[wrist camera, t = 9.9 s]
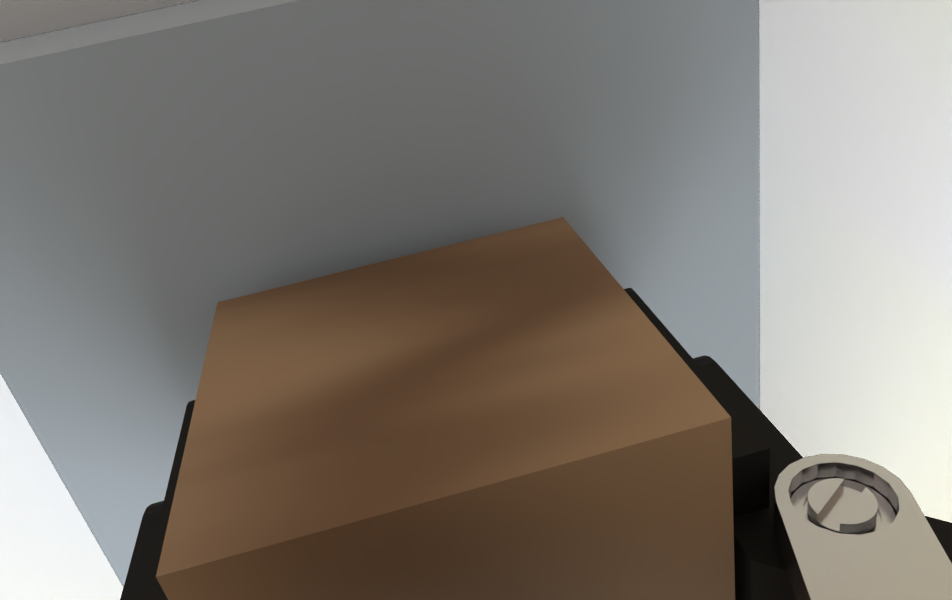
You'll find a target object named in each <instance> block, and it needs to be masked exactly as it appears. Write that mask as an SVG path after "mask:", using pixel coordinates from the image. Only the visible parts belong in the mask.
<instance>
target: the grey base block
mask: <svg viewBox="0 0 952 600" xmlns="http://www.w3.org/2000/svg"><path fill="white" fill-rule="evenodd" d="M561 217H564V219H565V220H566V221H567V222H568V223H569V225H570V226H571V227H572V228H573V229H574V231H575V232H576V233H577V234H578V235H579V237H580V238H581V239H582V240H583V241H584V242H585V244H586V245H587V246H588V247H589V248H590V250H591V251H592V252H593V253H594V254H595V256H596V257H597V258H598V259H599V260H600V262H601V263H602V264H603V265H604V266H605V268H606V269H607V270H608V271H609V272H610V274H611V275H612V276H613V277H614V278H615V279H616V281H617V282H618V283H619V284H620V285H621V287H622V288H623V289H626V288H632V289H633V290H634V291H635V292H636V293H637V294H638V295H639V297H640V298H641V299H642V300H643V301H644V302H645V304H646V305H647V306H648V307H649V308H650V309H651V311H652V312H653V313H654V314H655V315H656V316H657V318H658V319H659V320H660V321H661V322H662V323H663V325H664V326H665V327H666V328H667V329H668V330H669V331H670V333H671V334H672V335H673V336H674V337H675V338H676V340H677V341H678V342H679V343H680V344H681V345H682V347H683V348H684V349H685V350H686V351H687V352H688V354H689V355H690V356H691V357H692V358H696V357H700V356H704V355H705V356H710V357H711V358H712V359H713V360H715V361H716V362H717V363H718V364H719V366H720V367H721V368H722V369H723V370H724V371H725V372H726V373H727V374H728V376H729V377H730V378H731V379H732V380H733V381H734V382H735V383H736V384H737V385H738V387H739V388H740V389H741V390H742V391H743V392H744V393H745V394H746V395H747V396H748V398H749V399H750V400H751V401H752V402H753V403H754V404H755V405H756V406H757V408H758V409H759V410H760V265H759V0H199V1H194V2H189V3H184V4H180V5H175V6H170V7H166V8H161V9H156V10H151V11H147V12H142V13H137V14H133V15H128V16H123V17H118V18H114V19H109V20H104V21H100V22H95V23H90V24H85V25H81V26H76V27H71V28H67V29H62V30H57V31H52V32H48V33H43V34H38V35H34V36H29V37H24V38H19V39H15V40H10V41H5V42H1V43H0V374H1V375H2V377H3V379H4V380H5V382H6V384H7V386H8V387H9V389H10V391H11V393H12V394H13V396H14V398H15V400H16V401H17V403H18V405H19V407H20V408H21V410H22V412H23V414H24V415H25V417H26V419H27V420H28V422H29V424H30V426H31V427H32V429H33V431H34V433H35V434H36V436H37V438H38V440H39V441H40V443H41V445H42V447H43V448H44V450H45V452H46V454H47V455H48V457H49V459H50V460H51V462H52V464H53V466H54V467H55V469H56V471H57V473H58V474H59V476H60V478H61V480H62V481H63V483H64V485H65V487H66V488H67V490H68V492H69V494H70V495H71V497H72V499H73V500H74V502H75V504H76V506H77V507H78V509H79V511H80V513H81V514H82V516H83V518H84V520H85V521H86V523H87V525H88V527H89V528H90V530H91V532H92V534H93V535H94V537H95V539H96V540H97V542H98V544H99V546H100V547H101V549H102V551H103V553H104V554H105V556H106V558H107V560H108V561H109V563H110V565H111V567H112V568H113V570H114V572H115V574H116V575H117V577H118V579H119V580H120V582H121V584H122V586H123V587H124V584H125V580H126V577H127V573H128V569H129V565H130V562H131V558H132V554H133V551H134V547H135V543H136V539H137V536H138V532H139V528H140V524H141V521H142V517H143V514H144V512H145V510H146V508H147V507H148V506H149V505H150V504H153V503H157V502H160V501H164V498H165V494H166V490H167V486H168V482H169V477H170V473H171V469H172V465H173V461H174V456H175V452H176V448H177V444H178V440H179V436H180V431H181V427H182V423H183V419H184V415H185V410H186V406H187V404H188V402H189V401H192V400H196V396H197V391H198V387H199V382H200V378H201V373H202V369H203V364H204V360H205V356H206V351H207V347H208V342H209V338H210V333H211V329H212V324H213V320H214V315H215V311H216V307H217V302H221V301H225V300H229V299H233V298H237V297H241V296H245V295H249V294H253V293H257V292H261V291H265V290H269V289H273V288H277V287H281V286H285V285H290V284H294V283H298V282H302V281H306V280H310V279H314V278H318V277H322V276H326V275H330V274H334V273H338V272H342V271H346V270H350V269H354V268H358V267H362V266H366V265H370V264H374V263H379V262H383V261H387V260H391V259H395V258H399V257H403V256H407V255H411V254H415V253H419V252H423V251H427V250H431V249H435V248H439V247H443V246H447V245H451V244H455V243H459V242H463V241H468V240H472V239H476V238H480V237H484V236H488V235H492V234H496V233H500V232H504V231H508V230H512V229H516V228H520V227H524V226H528V225H532V224H536V223H540V222H544V221H548V220H553V219H557V218H561Z"/></svg>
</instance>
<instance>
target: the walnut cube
mask: <svg viewBox="0 0 952 600" xmlns="http://www.w3.org/2000/svg"><path fill="white" fill-rule="evenodd" d="M156 578H157V580H158V582H159V584H160V586H161V587H162V589H163V591H164V593H165V595H166V597H167V599H168V600H735V569H734V523H733V478H732V432H731V417H730V415H729V414H728V413H727V412H726V411H725V410H724V408H723V407H722V406H721V405H720V404H719V402H718V401H717V400H716V399H715V398H714V396H713V395H712V394H711V393H710V392H709V390H708V389H707V388H706V387H705V386H704V384H703V383H702V382H701V381H700V380H699V378H698V377H697V376H696V375H695V374H694V373H693V371H692V370H691V369H690V368H689V367H688V365H687V364H686V363H685V362H684V361H683V359H682V358H681V357H680V356H679V355H678V353H677V352H676V351H675V350H674V349H673V347H672V346H671V345H670V344H669V343H668V342H667V340H666V339H665V338H664V337H663V336H662V334H661V333H660V332H659V331H658V330H657V328H656V327H655V326H654V325H653V324H652V322H651V321H650V320H649V319H648V318H647V316H646V315H645V314H644V313H643V312H642V310H641V309H640V308H639V307H638V306H637V305H636V303H635V302H634V301H633V300H632V299H631V297H630V296H629V295H628V294H627V293H626V291H625V290H624V289H623V288H622V287H621V285H620V284H619V283H618V282H617V281H616V279H615V278H614V277H613V276H612V275H611V274H610V272H609V271H608V270H607V269H606V268H605V266H604V265H603V264H602V263H601V262H600V260H599V259H598V258H597V257H596V256H595V254H594V253H593V252H592V251H591V250H590V248H589V247H588V246H587V245H586V244H585V242H584V241H583V240H582V239H581V238H580V237H579V235H578V234H577V233H576V232H575V231H574V229H573V228H572V227H571V226H570V225H569V223H568V222H567V221H566V220H565V219H564V217H561V218H557V219H553V220H548V221H544V222H540V223H536V224H532V225H528V226H524V227H520V228H516V229H512V230H508V231H504V232H500V233H496V234H492V235H488V236H484V237H480V238H476V239H472V240H468V241H463V242H459V243H455V244H451V245H447V246H443V247H439V248H435V249H431V250H427V251H423V252H419V253H415V254H411V255H407V256H403V257H399V258H395V259H391V260H387V261H383V262H379V263H374V264H370V265H366V266H362V267H358V268H354V269H350V270H346V271H342V272H338V273H334V274H330V275H326V276H322V277H318V278H314V279H310V280H306V281H302V282H298V283H294V284H290V285H285V286H281V287H277V288H273V289H269V290H265V291H261V292H257V293H253V294H249V295H245V296H241V297H237V298H233V299H229V300H225V301H221V302H217V307H216V311H215V315H214V320H213V324H212V329H211V333H210V338H209V342H208V347H207V351H206V356H205V360H204V364H203V369H202V373H201V378H200V382H199V387H198V391H197V396H196V400H195V405H194V409H193V413H192V418H191V422H190V427H189V431H188V436H187V440H186V445H185V449H184V454H183V458H182V463H181V467H180V471H179V476H178V480H177V485H176V489H175V494H174V498H173V503H172V507H171V512H170V516H169V520H168V525H167V529H166V534H165V538H164V543H163V547H162V552H161V556H160V561H159V565H158V569H157V574H156Z"/></svg>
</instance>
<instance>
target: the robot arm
mask: <svg viewBox="0 0 952 600" xmlns="http://www.w3.org/2000/svg"><path fill="white" fill-rule="evenodd" d="M624 290H625V291H626V293H627V294H628V295H629V296H630V297H631V299H632V300H633V301H634V302H635V303H636V305H637V306H638V307H639V308H640V309H641V310H642V312H643V313H644V314H645V315H646V316H647V318H648V319H649V320H650V321H651V322H652V324H653V325H654V326H655V327H656V328H657V330H658V331H659V332H660V333H661V334H662V336H663V337H664V338H665V339H666V340H667V342H668V343H669V344H670V345H671V346H672V347H673V349H674V350H675V351H676V352H677V353H678V355H679V356H680V357H681V358H682V359H683V361H684V362H685V363H686V364H687V365H688V367H689V368H690V369H691V370H692V371H693V373H694V374H695V375H696V376H697V377H698V378H699V380H700V381H701V382H702V383H703V384H704V386H705V387H706V388H707V389H708V390H709V392H710V393H711V394H712V395H713V396H714V398H715V399H716V400H717V401H718V402H719V404H720V405H721V406H722V407H723V408H724V410H725V411H726V412H727V413H728V414H729V415H730V417H731V432H732V478H733V523H734V569H735V600H952V523H950V522H946V521H942V520H938V519H934V518H931V517H927V516H924V514H923V513H922V511H921V509H920V507H919V506H918V504H917V502H916V500H915V499H914V497H913V495H912V493H911V492H910V490H909V489H908V488H907V487H906V486H905V484H904V483H903V482H902V481H901V479H900V478H898V477H897V476H896V475H894V474H893V473H891V472H890V471H888V470H887V469H886V468H884V467H882V466H880V465H878V464H875V463H873V462H870V461H868V460H866V459H862V458H858V457H853V456H848V455H844V454H820V455H815V456H809V457H804V458H803V457H802V456H801V455H800V454H799V453H798V452H797V451H796V449H795V448H794V447H793V446H792V445H791V444H790V443H789V442H788V441H787V440H786V438H785V437H784V436H783V435H782V434H781V433H780V432H779V431H778V430H777V429H776V427H775V426H774V425H773V424H772V423H771V422H770V421H769V420H768V419H767V417H766V416H765V415H764V414H763V413H762V412H761V411H760V410H759V409H758V408H757V406H756V405H755V404H754V403H753V402H752V401H751V400H750V399H749V398H748V396H747V395H746V394H745V393H744V392H743V391H742V390H741V389H740V388H739V387H738V385H737V384H736V383H735V382H734V381H733V380H732V379H731V378H730V377H729V376H728V374H727V373H726V372H725V371H724V370H723V369H722V368H721V367H720V366H719V364H718V363H717V362H716V361H715V360H713V359H712V358H711V357H710V356H705V355H704V356H700V357H696V358H692V357H691V356H690V355H689V354H688V352H687V351H686V350H685V349H684V348H683V347H682V345H681V344H680V343H679V342H678V341H677V340H676V338H675V337H674V336H673V335H672V334H671V333H670V331H669V330H668V329H667V328H666V327H665V326H664V325H663V323H662V322H661V321H660V320H659V319H658V318H657V316H656V315H655V314H654V313H653V312H652V311H651V309H650V308H649V307H648V306H647V305H646V304H645V302H644V301H643V300H642V299H641V298H640V297H639V295H638V294H637V293H636V292H635V291H634V290H633V289H632V288H626V289H624ZM194 405H195V400H192V401H189V402H188V404H187V406H186V410H185V415H184V419H183V423H182V427H181V431H180V436H179V440H178V444H177V448H176V452H175V456H174V461H173V465H172V469H171V473H170V477H169V482H168V486H167V490H166V494H165V498H164V501H160V502H157V503H153V504H150V505H149V506H148V507H147V508H146V510H145V512H144V514H143V517H142V521H141V524H140V528H139V532H138V536H137V539H136V543H135V547H134V551H133V554H132V558H131V562H130V565H129V569H128V573H127V577H126V580H125V584H124V588H123V592H122V595H121V599H120V600H168V599H167V597H166V595H165V593H164V591H163V589H162V587H161V586H160V584H159V582H158V580H157V578H156V574H157V569H158V565H159V561H160V556H161V552H162V547H163V543H164V538H165V534H166V529H167V525H168V520H169V516H170V512H171V507H172V503H173V498H174V494H175V489H176V485H177V480H178V476H179V471H180V467H181V463H182V458H183V454H184V449H185V445H186V440H187V436H188V431H189V427H190V422H191V418H192V413H193V409H194Z"/></svg>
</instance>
